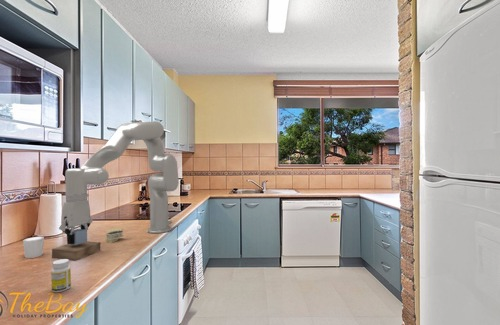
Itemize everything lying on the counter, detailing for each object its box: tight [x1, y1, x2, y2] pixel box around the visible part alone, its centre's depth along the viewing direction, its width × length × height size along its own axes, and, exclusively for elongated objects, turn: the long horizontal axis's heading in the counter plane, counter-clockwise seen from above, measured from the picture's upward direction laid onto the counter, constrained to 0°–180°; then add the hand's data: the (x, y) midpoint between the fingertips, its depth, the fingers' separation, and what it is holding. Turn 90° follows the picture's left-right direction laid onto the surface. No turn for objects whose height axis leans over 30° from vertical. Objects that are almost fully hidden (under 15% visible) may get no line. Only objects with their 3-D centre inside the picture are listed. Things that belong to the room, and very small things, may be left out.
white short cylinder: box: [22, 236, 45, 259], centre depth 111 cm, size 7×7×7 cm
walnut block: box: [51, 240, 102, 262], centre depth 112 cm, size 12×12×4 cm
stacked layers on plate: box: [105, 227, 124, 244], centre depth 131 cm, size 10×9×6 cm
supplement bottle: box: [50, 259, 72, 293], centre depth 81 cm, size 5×5×8 cm
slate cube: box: [66, 228, 88, 245], centre depth 112 cm, size 5×5×5 cm
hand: (77, 241), depth 112 cm, fingers closed on slate cube, 4 cm apart
